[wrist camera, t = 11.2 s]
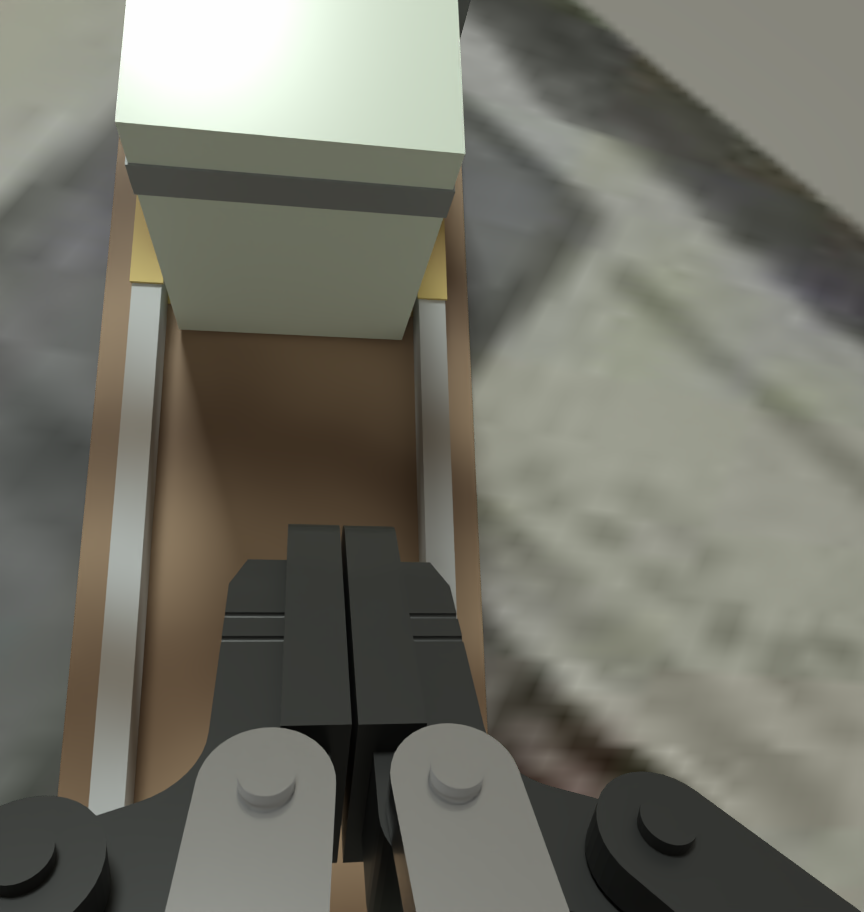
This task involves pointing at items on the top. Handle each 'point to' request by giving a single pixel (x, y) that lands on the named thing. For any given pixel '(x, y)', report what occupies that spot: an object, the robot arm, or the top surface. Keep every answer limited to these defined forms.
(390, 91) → the sliding block
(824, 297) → the top surface
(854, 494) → the top surface
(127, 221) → the rail base
